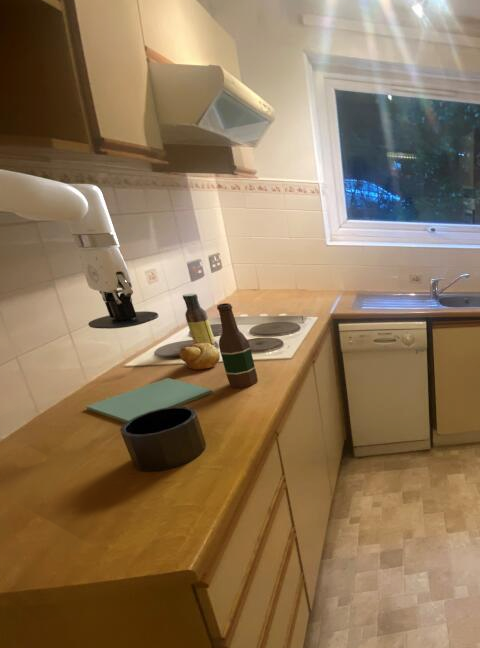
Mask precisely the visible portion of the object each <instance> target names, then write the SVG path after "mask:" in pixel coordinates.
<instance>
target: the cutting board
mask: <svg viewBox="0 0 480 648" xmlns="http://www.w3.org/2000/svg"><path fill="white" fill-rule="evenodd" d="M213 393H214V391H213V389H211V388H207V387H203V386H200V385H197V384H193V383H188V382H184V381H180V380H178V379H174V378H169V377H166V378H164V379H161V380H158V381H155V382H152V383H148V384H146V385H143V386H140V387H137V388H134V389H132V390H129V391H126V392H123V393H119V394H117V395H114V396H111V397H108V398H105V399H103V400H100V401H95V402H94V403H90V404H88V405H85V408H86V410H88V411H91V412H93V413H97V414H100V415H102V416H105V417H108V418H111V419H114V420H117V421H119V422H122V423H124V424H125V423H126V422H128V421H129V420H131V419H133V418H135V417H137V416H140V415H142V414H145V413H147V412H150V411H154V410H158V409H162V408H169V407H182V406H183V405H186V404H188V402H189V403H191V402H194V401H196V400H199V399H201V398H203V396H204V397H205V396H208V395H211V394H213ZM198 398H199V399H198ZM193 400H194V401H193ZM190 401H191V402H190Z"/></svg>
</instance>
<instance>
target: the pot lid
mask: <svg viewBox="0 0 480 648" xmlns="http://www.w3.org/2000/svg"><path fill="white" fill-rule="evenodd" d="M108 302H109V305H110V308H111V310H112V313H113V316H114V318H111V317H110V315H109V314H108V315H105V316H101V317H97V318H94V319H92V320H90V321H89V322H88V323H87V325H88V327H90V328H91V329H103V330H104V329H106V330H107V329H108V330H109V329H114V330H115V329H123V328H131V327H136V326H140V325H143V324H146V323H149V322H152V321H154V320H156V319H158V318H159V313H158V312H156V311H146V310H145V311H135V313H136V317H135V318H131V319H126V320H121V319H120V316H119V313H118V311H117V308H116V305H115V304H117V302H116V300H111V301H108Z"/></svg>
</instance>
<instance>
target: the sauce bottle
mask: <svg viewBox="0 0 480 648" xmlns="http://www.w3.org/2000/svg"><path fill="white" fill-rule="evenodd" d="M198 298H199V297H198V293H195V292H193V293H192V292H191V293H185V294H183V295H182V299H183V300H184V303H185V306H186V311H185V313H184V315H185V316H184V317H185V320H186V323H187V326H188V329H189V333H190V336H191V339H192V341H193V345H194V344H197V343H209V344H211V345H214V346H216V347H217V345H216V340H215V336H214V333H213V330H212V327H211V324H210V320H209V317H208V314H207V312H206V310H205V309H203V308H202V307H201V305H200V302H199V299H198Z"/></svg>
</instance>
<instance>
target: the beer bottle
mask: <svg viewBox="0 0 480 648" xmlns="http://www.w3.org/2000/svg"><path fill="white" fill-rule="evenodd" d="M216 310H217V311H218V315H219V319H220V323H221V324H220V325H221V334H220V336H219V341H218V347H219V353H220V356H221V360H222V363H223V367H224V370H225V375H226V378H227V381H228V384H229V386H230V388H231V387H232V389H243V388H247V387H251V386H253V385H255V384H256V383H258V382H259V380H258V379H259V378H258V374H257V370H256V365H255V362H254V361H255V360H254V357H253V354H252V351H251V346H250V343H249V340H248V339H247V338H246V336H245V335H244V333H242V332H241V331H240V329H239V328H238V327H239V326H238V324H237V322H236V317H235V315H234V312H233V306H232V304H231V303H228V302H227V303H226V302H225V303H219V304H217V305H216Z"/></svg>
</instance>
